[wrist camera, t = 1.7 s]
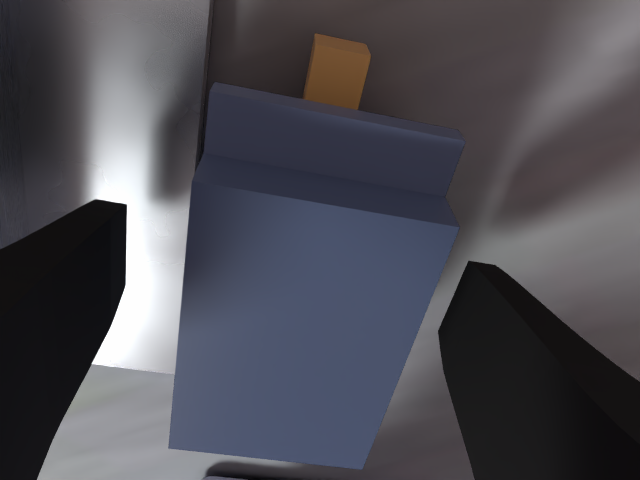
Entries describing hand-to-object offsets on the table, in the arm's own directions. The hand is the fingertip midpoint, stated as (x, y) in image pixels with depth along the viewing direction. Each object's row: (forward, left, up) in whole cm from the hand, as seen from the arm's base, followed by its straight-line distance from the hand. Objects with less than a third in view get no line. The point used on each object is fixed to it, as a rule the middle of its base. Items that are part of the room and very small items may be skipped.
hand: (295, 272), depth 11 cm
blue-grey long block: (0, 0, -2) cm, 2 cm away
